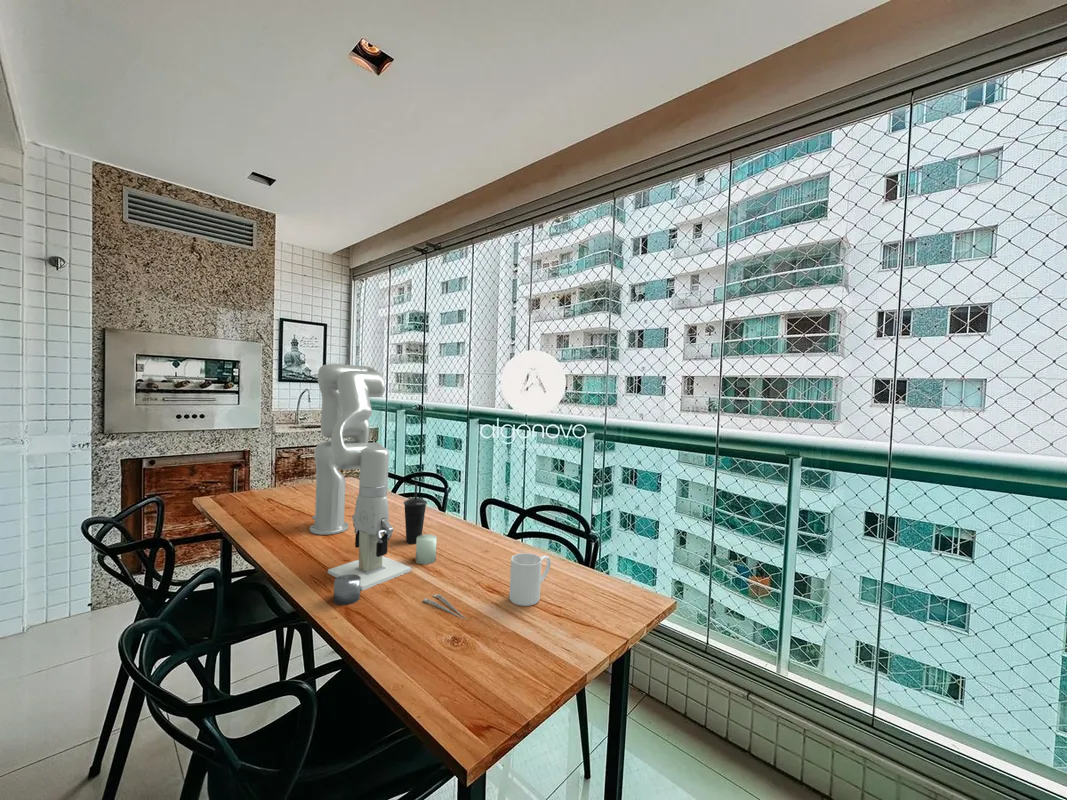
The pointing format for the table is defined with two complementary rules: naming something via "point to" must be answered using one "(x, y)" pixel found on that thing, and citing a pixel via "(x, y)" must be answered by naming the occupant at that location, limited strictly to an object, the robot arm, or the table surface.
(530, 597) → the mug
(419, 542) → the pale green capsule
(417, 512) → the drinking cup
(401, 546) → the table surface
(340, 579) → the dark tin
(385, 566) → the white square plate
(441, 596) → the tweezers
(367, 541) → the box
